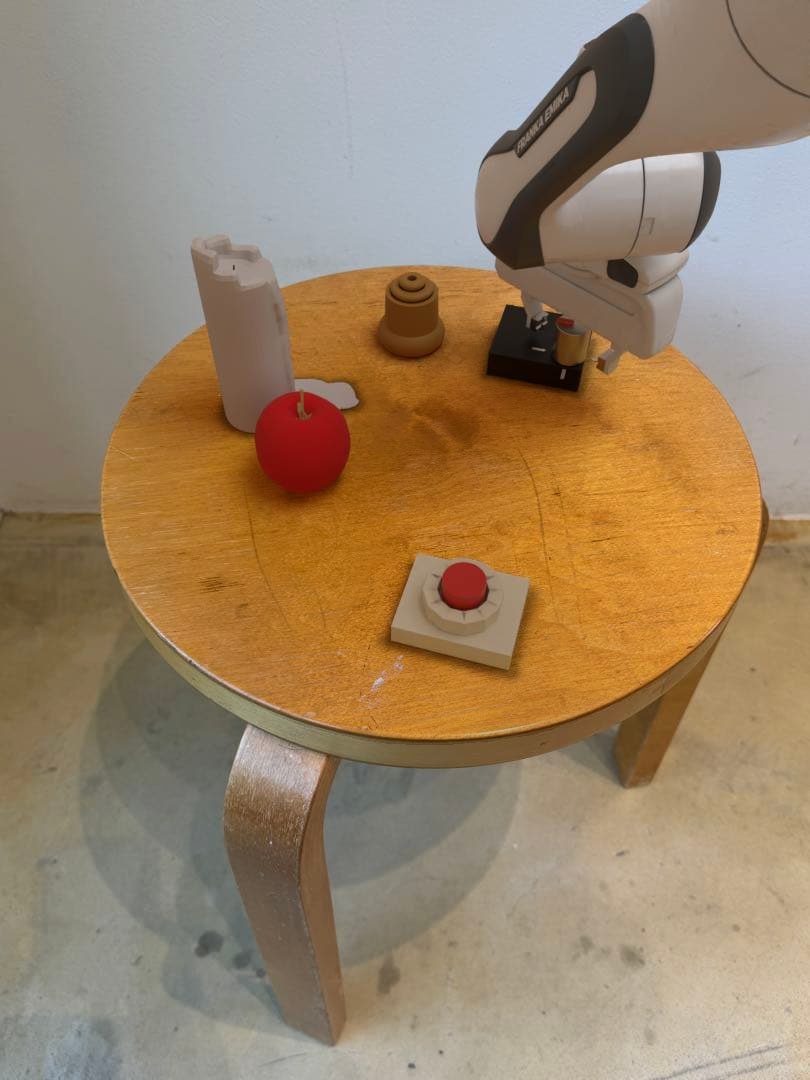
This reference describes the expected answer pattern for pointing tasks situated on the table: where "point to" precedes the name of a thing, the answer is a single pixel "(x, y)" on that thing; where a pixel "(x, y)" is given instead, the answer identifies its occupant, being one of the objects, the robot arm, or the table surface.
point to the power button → (463, 585)
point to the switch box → (460, 614)
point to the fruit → (302, 442)
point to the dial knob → (570, 342)
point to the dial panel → (530, 353)
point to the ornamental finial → (411, 316)
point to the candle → (250, 332)
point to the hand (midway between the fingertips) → (570, 348)
